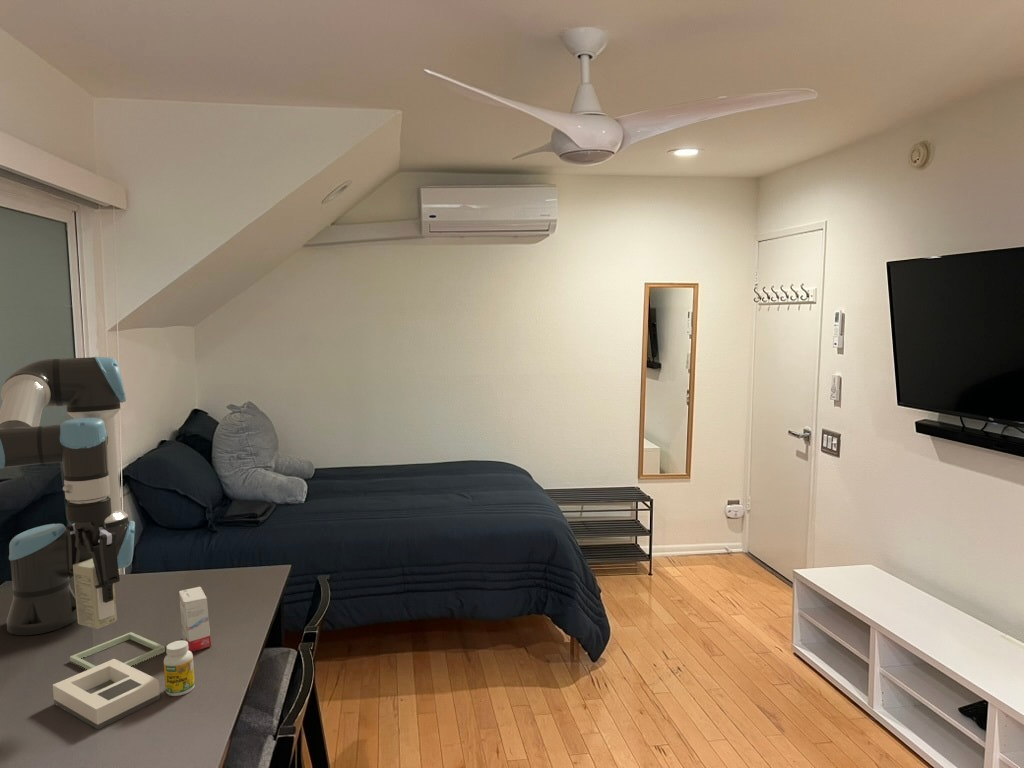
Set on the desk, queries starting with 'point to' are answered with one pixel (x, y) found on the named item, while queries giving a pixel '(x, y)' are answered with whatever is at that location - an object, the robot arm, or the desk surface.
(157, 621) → the desk surface
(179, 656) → the supplement bottle
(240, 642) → the desk surface
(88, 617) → the skincare box
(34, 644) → the desk surface
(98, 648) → the tray rim
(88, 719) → the block
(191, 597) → the ink box
